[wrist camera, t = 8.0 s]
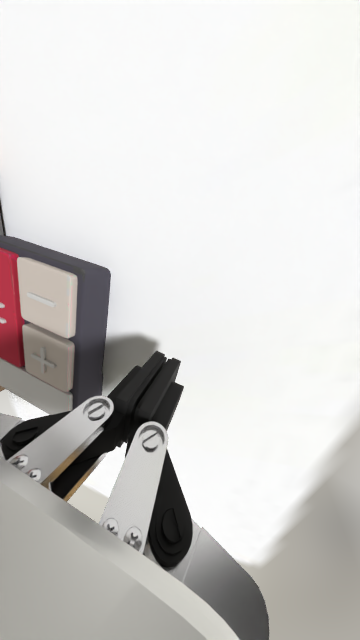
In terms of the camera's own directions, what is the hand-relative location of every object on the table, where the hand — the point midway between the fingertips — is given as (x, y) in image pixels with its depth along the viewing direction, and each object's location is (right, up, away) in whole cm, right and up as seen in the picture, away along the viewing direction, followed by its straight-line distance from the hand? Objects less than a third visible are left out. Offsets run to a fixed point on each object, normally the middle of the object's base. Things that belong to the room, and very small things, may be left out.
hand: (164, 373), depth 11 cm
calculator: (-11, +3, +7) cm, 13 cm away
